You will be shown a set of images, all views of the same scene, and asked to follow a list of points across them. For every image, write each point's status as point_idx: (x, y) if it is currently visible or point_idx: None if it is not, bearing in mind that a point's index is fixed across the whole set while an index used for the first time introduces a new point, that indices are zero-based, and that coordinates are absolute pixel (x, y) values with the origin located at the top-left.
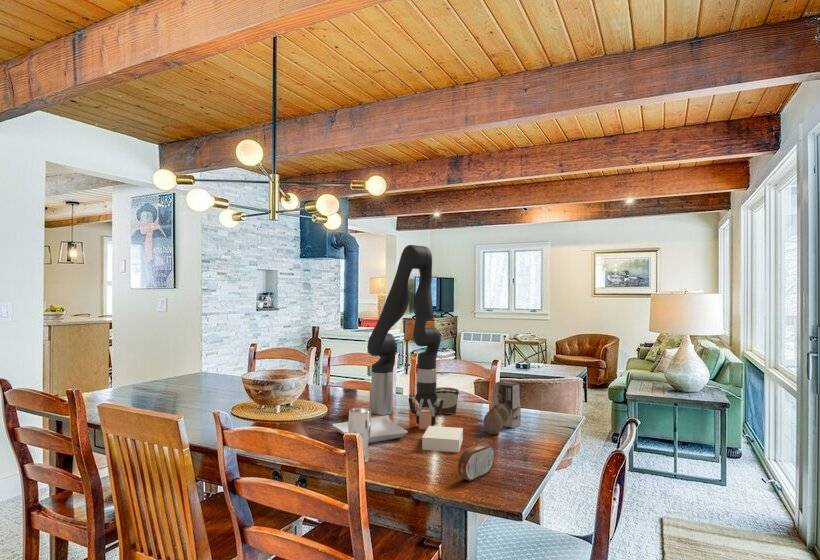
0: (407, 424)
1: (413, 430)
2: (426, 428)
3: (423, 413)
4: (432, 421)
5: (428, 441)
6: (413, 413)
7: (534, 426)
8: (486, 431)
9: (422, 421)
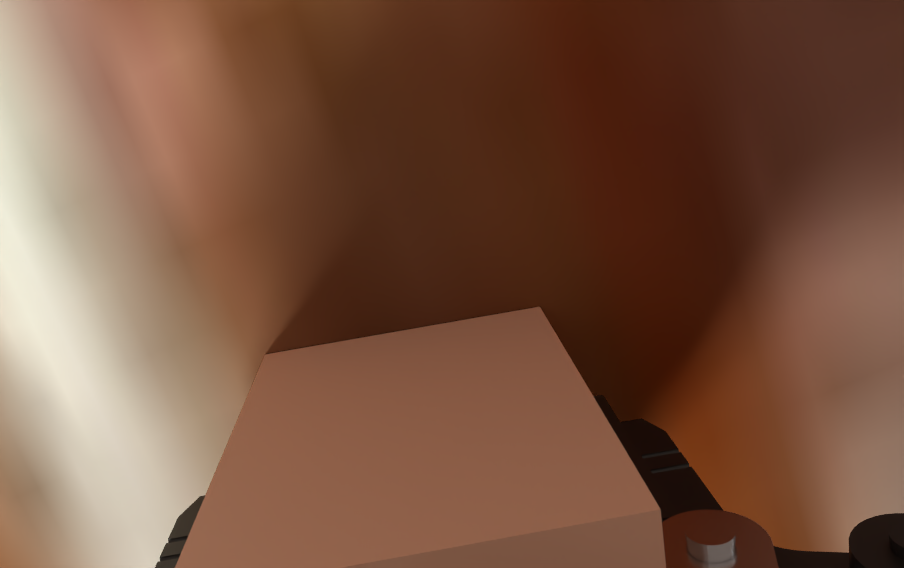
0: (863, 504)
1: (620, 125)
2: (365, 341)
3: (480, 530)
4: None
5: None
6: (874, 520)
7: None
8: None
9: (480, 391)
